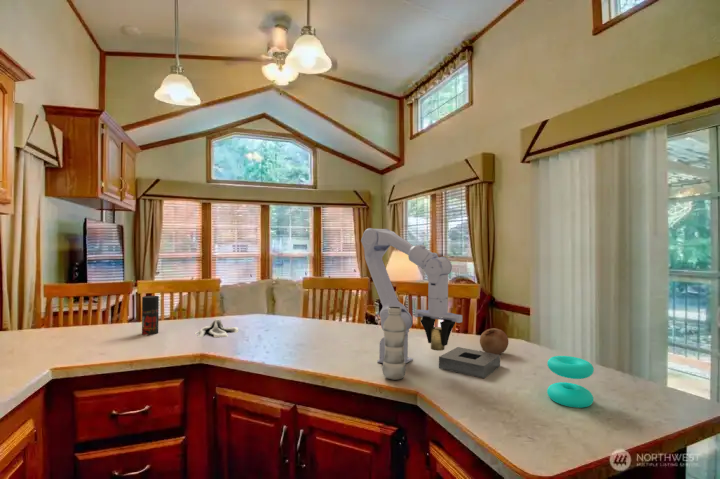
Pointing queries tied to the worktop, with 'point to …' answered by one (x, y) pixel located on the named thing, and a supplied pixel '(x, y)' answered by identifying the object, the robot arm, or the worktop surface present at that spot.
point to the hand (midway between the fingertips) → (437, 343)
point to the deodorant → (150, 315)
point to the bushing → (436, 339)
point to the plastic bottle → (394, 345)
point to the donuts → (568, 391)
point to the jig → (469, 362)
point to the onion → (494, 341)
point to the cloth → (216, 329)
